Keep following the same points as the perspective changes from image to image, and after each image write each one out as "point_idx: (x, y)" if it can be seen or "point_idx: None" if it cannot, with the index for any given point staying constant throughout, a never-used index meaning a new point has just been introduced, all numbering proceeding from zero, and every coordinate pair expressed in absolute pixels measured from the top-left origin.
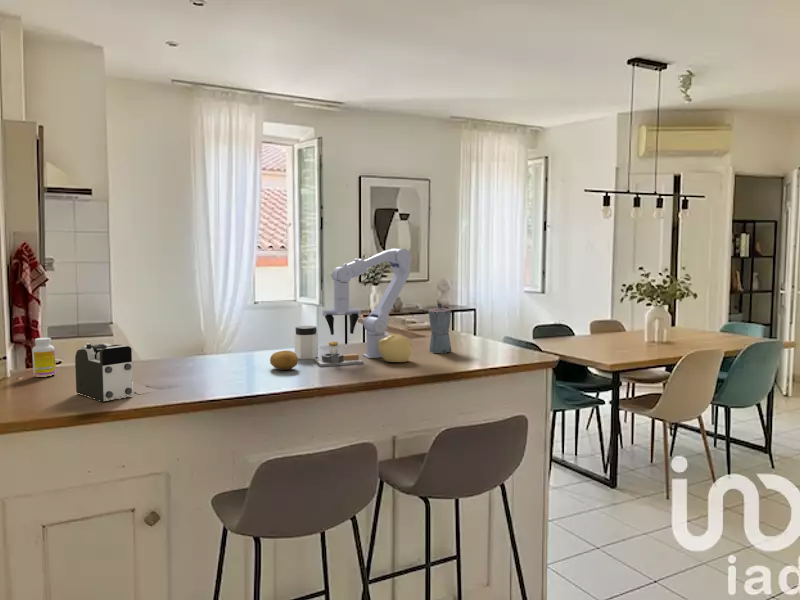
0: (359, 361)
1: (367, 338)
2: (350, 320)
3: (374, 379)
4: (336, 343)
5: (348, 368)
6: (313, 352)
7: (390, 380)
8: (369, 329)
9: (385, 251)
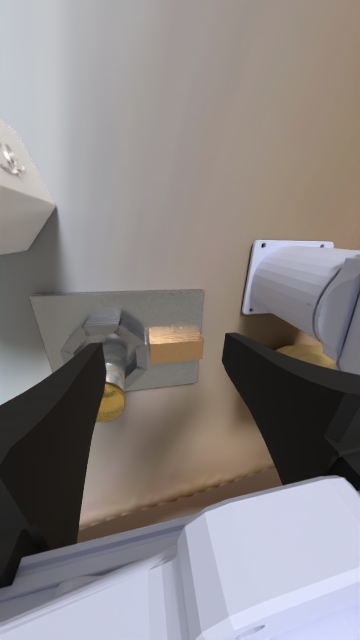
0: (187, 383)
1: (297, 309)
2: (284, 390)
3: (166, 492)
4: (114, 416)
5: (142, 417)
6: (16, 244)
7: (189, 496)
8: (355, 319)
9: None
